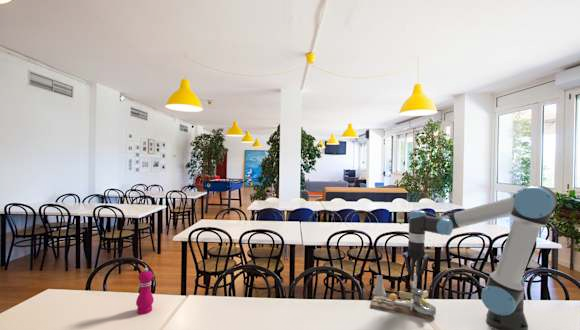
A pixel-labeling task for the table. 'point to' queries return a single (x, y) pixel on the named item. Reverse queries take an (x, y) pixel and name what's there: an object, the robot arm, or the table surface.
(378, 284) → the flask
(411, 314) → the board
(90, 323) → the table surface
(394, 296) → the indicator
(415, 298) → the cam capstan
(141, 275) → the pepper mill
